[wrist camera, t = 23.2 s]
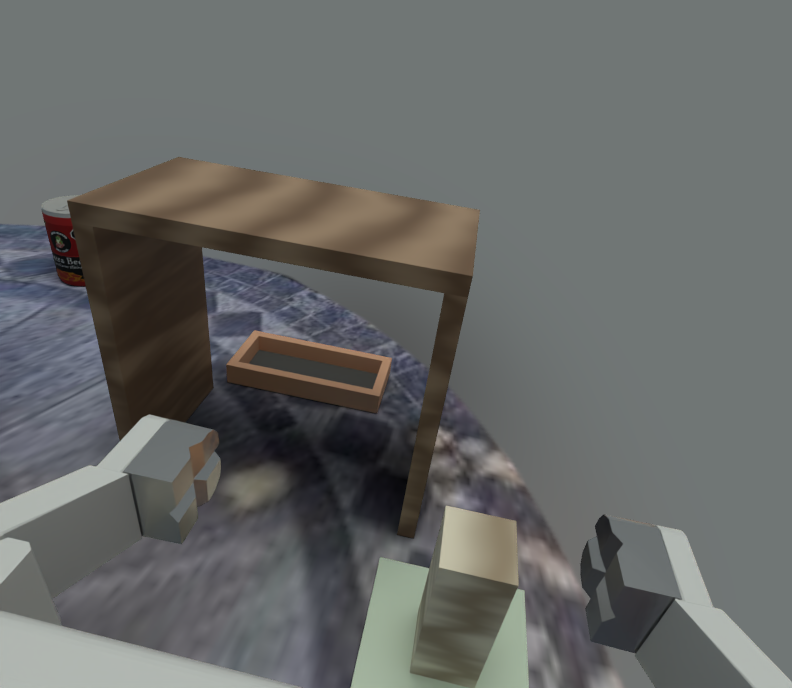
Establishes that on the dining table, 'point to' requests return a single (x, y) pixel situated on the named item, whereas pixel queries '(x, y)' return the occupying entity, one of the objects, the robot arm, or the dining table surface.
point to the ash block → (465, 596)
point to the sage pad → (395, 631)
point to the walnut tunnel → (263, 238)
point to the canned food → (63, 240)
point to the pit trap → (310, 371)
